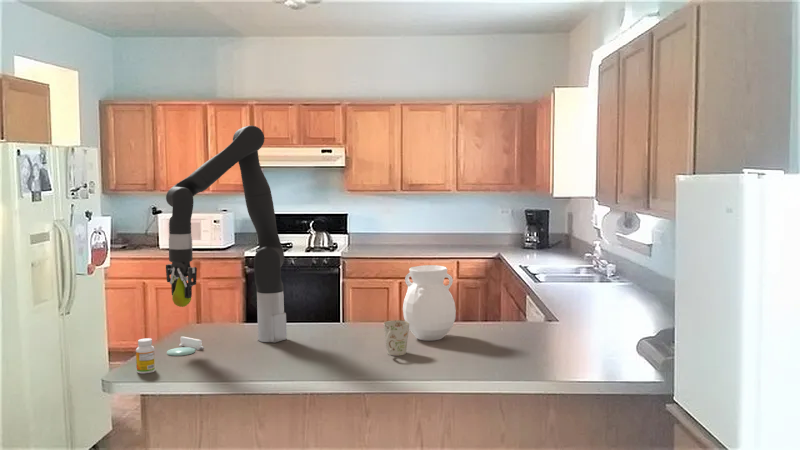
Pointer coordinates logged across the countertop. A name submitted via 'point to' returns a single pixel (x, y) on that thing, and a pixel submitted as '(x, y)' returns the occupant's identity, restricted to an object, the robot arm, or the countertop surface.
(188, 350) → the pad
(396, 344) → the mug
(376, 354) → the countertop surface
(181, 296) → the fruit
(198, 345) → the rail
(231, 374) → the countertop surface
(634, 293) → the countertop surface
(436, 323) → the white handled vase
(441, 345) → the countertop surface
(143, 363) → the supplement bottle
